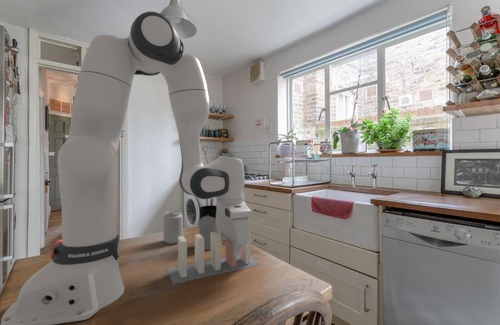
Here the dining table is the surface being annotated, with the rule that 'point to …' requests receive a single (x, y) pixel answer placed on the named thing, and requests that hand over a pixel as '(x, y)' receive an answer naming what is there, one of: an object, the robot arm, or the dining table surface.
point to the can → (173, 226)
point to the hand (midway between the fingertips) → (230, 250)
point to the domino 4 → (230, 253)
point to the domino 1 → (182, 256)
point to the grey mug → (207, 224)
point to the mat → (209, 269)
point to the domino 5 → (245, 252)
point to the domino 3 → (215, 251)
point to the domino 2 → (199, 253)
